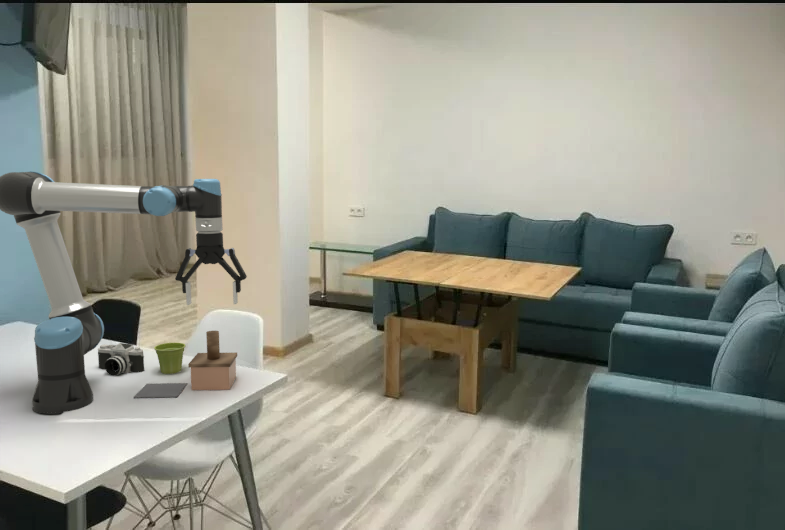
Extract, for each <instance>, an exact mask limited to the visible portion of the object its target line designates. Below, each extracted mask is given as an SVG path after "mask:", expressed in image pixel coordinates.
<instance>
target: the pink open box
mask: <svg viewBox="0 0 785 530" xmlns="http://www.w3.org/2000/svg"><path fill="white" fill-rule="evenodd" d="M236 360H237V359H235V360H234V362H233V363H232V365H231V367H190V382H191V384H190V385H191V387H190V388H191V391H219V390H220V391H222V390H226V391H228V390H231V388H232V386H233V384H234V382H235V381H234V380H236V379H237V372H236V371H237V361H236ZM235 378H236V379H235Z"/></svg>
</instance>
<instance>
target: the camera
mask: <svg viewBox="0 0 785 530" xmlns="http://www.w3.org/2000/svg"><path fill="white" fill-rule="evenodd" d="M97 356H98V360H97V361H98V368H99V369H100V370H105V372H106V373H107V374H108V375H110V376H115V377H116V376H120V375H121V374H129V373H136V374H137V373H142V372H144V371H145V361H144V359H145V356H144V350H143V349H142V348H141V347H134V344H132V343H122V342H121V343H120V342H119V343H118V344H116V345H115V344H106V343H105V344H101V345H99V347H98V348H97ZM114 367H118V368H117V369H116V370H114Z"/></svg>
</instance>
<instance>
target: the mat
mask: <svg viewBox="0 0 785 530" xmlns="http://www.w3.org/2000/svg"><path fill="white" fill-rule="evenodd" d="M187 385H188V383H187V382H178V383H176V382H175V383H173V382H170V383H169V382H166V383H164V382H163V383H154V382H153V383H145V385H144V386H143V387H142V388H141V389H140V390H139V391H138V392H137V393H136V394H135V395H134V396H133V399H174V398H175V399H176V398H178V397H179V396H180V394H181V393H182V392H183V391H184V389H185V388H186V387H187Z"/></svg>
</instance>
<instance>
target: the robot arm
mask: <svg viewBox="0 0 785 530" xmlns="http://www.w3.org/2000/svg"><path fill="white" fill-rule="evenodd" d="M221 189H222V188H221V182H220V180H219V179H217V178H195V179H194V180H193V184H192V185H155V186H148V185H147V186H143V185H142V186H141V185H123V184H122V185H120V184H105V183H102V184H101V183H100V184H99V183H98V184H97V183H80V182H61V181H60V182H59V181H58V182H57V181H54V180H53V178H51V177H50V176H48V175H46V174H44V173H40V172H37V171H21V172H20V171H19V172H16V171H15V172H14V171H12V172H7V173H4V174H2V175H0V211H2V212H3V213H5V214H7V215H11V216H13V217H14V220H15V222H16V223H15V224H16V225H17V226H18V227H21V228H23V229H24V231H25V234H26V237H27V239H28V243H29V246H30V249H31V251H32V254H33V257H34V260H35V263H36V266H37V269H38V272H39V274H40V278H41V280H42V283H43V287H44V290H45V292H46V295H47V298H48V301H49V304H50V306H51V311H50V313H49V314H48V319H45V320H43V321H41V322H40V323H38V324H37V325H36V326H35V327H34V328H35V330H34V337H33V339H34V346H35V356H36V357H35V358H36V359H35V360H36V369H37V370H36V372H37V384H36V387H35V388H34V393H33V397H32V401H31V405H32V410H33V411H34V412H36V413H38V414H45V415H47V414H49V415H50V414H51V415H53V414H54V415H57V414H63V413H66V412H72V411H76V410H79V409H82V408H85V407H87V406H89V405H91V404H92V403H93V402H94V401H95V400H94V393H93V389H92V387H91V385H90V383H89V381H88V379H87V375H86V369H85V366H86V365H85V355H87V354H88V353H89V352H91V351H92V350H94V349H95V348H96V347H97V346H99V344H100V342H102V339H103V337H104V335H105V333H104V332H105V325H104V322H103V320H102V318H101V317H100V316H99V315H98V314H96V313H95V312H94V310H93V309H94V308H93V306H92V304H91V302H88V301H86V300H85V299H84V297H83V294H82V291H81V289H80V285H79V283H78V280H77V276H76V274H75V271H74V268H73V265H72V261H71V259H70V256H69V253H68V250H67V246H66V244H65V240H64V237H63V234H62V232H61V229H60V226H59V222H58V220H59V218H60V217H61V212H77V213H82V212H84V213H102V214H103V213H107V214H108V213H109V214H110V213H111V214H134V215H135V214H136V215H152V216H155V217H164V216H167V215H169V214H173V213H186V212H189V213H191V212H192V213H194V214H195V216H194V219H195V220H194V221H195V231H196V232H197V233H196V234H195V237H196V239H195V240H196V241H195V242H196V248H195V249H193V248H190V247H188V248H186V249H185V253H184V258H183V261H182V262H181V264H180V267H179V269H178V271H177V274H176V275H175V278H174V279H175V281H178V282H181V285H182V286H181V287H182V289H181V290H182V293H183V294H185V299H186V305H187V306H190V305H191V304H192V292H191V291H192V288H191V287H192V285H191V284H192V283H191V281H189V280H190V278H191V277H192V276H193V274H194V273H195V272H196V271H197V269H198V268H199V267H200V266H201V265H202V264H204V265H208V264H210V265H216V264H219V265H220V266H221V267H222V268H223V269H224V271H226V273H227V274H229V276H230V277H231V278H232V279H233V280H234V281H232V300H233V301H232V302H233V305H237V304H238V302H239V301H238V297H239V296H238V293H240V292H241V291H242V282H241V281H243V280H244V281H245V280H246V279H247V278H248V275H247V273H246V272H245V271H244V268H243V266H242V265H241V263H240V261H239V259H238V258H237V255H236V251H235V248H234V247H230V248H227V249H226V248H224V238H223V237H224V236H223V235H224V234H223V232H221V231H223V229H224V228H223V213H222V212H223V210H222V209H223V208H222V207H223V205H222V204H223V203H222V197H223V196H222V195H223V194H222V190H221ZM194 254H195V255H196V257H197V258H198V259H196V261H195V263H194V264H193V265H192V267H191V268H189V270H188V271H187V273H186V274H184V273H185V271H186V268H187V267H188V264H189V262H190V260H191V258H192V257H193V256H194ZM225 254H226V255H227V257H229V258H230V260H231V262H232V264H233V266H234V268H235V270H236V271H237V272H236V271H235V270H234V269H233V268H232V267H231V265H229V263H228V262H227V261H226V260H225V258H223V257H224V255H225Z"/></svg>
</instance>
